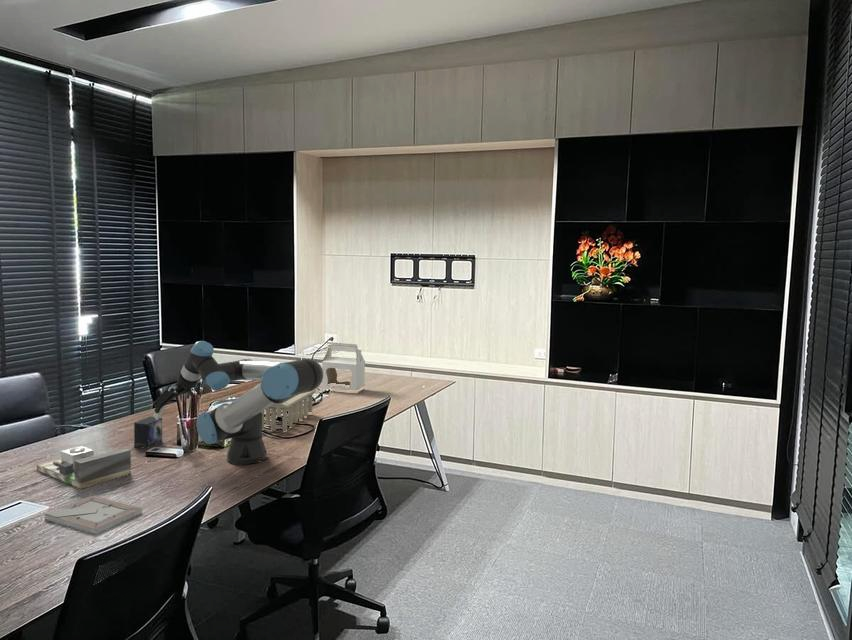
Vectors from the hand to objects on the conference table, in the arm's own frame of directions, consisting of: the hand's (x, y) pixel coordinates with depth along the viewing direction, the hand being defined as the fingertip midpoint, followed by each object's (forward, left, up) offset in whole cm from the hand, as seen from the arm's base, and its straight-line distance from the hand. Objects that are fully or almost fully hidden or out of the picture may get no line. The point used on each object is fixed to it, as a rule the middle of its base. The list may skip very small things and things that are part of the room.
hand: (170, 413), depth 252 cm
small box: (+16, -1, -16) cm, 23 cm away
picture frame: (-34, +50, -17) cm, 63 cm away
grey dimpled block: (+9, +35, -14) cm, 39 cm away
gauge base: (+5, +32, -16) cm, 36 cm away
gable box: (+21, -130, -16) cm, 132 cm away
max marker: (+3, +40, -14) cm, 42 cm away
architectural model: (-3, -61, -16) cm, 63 cm away
